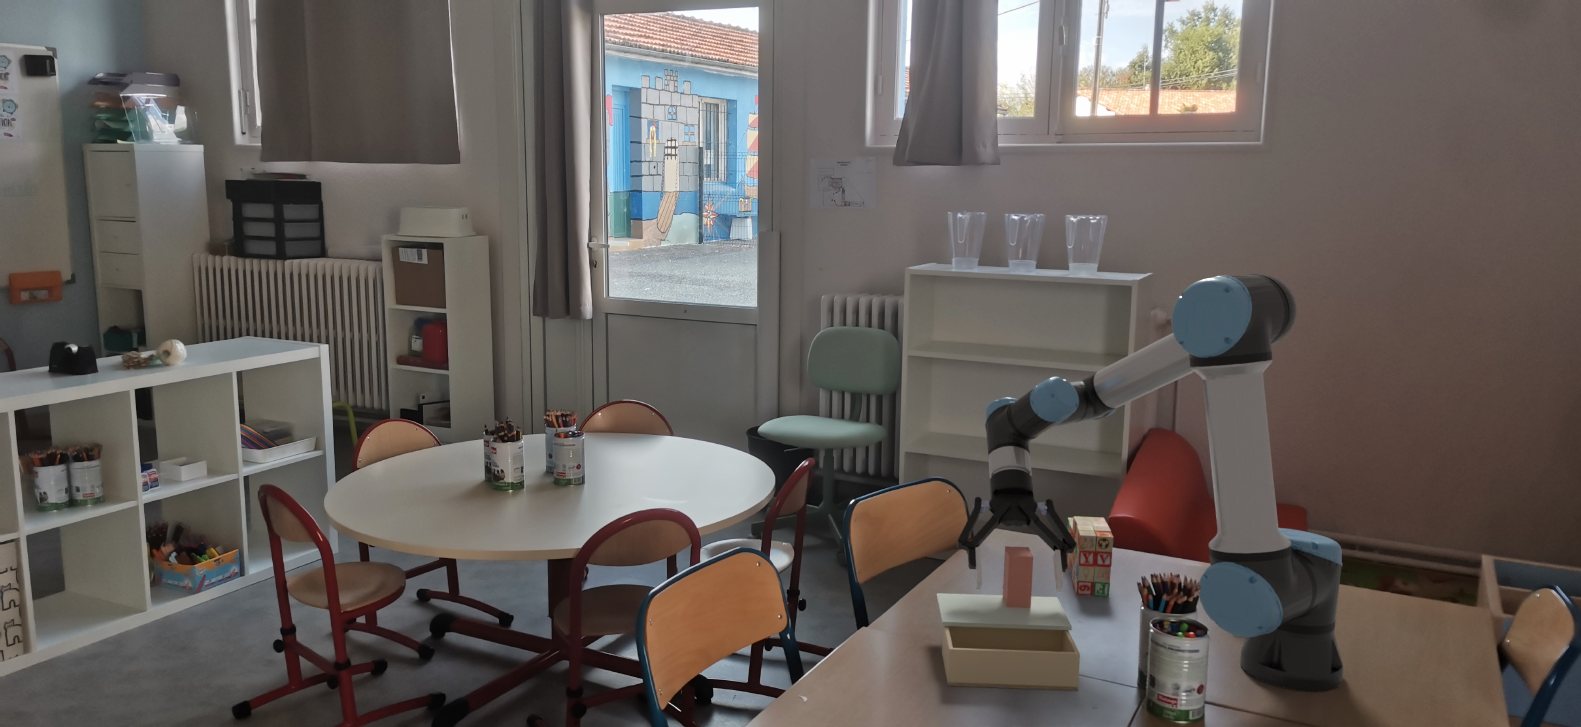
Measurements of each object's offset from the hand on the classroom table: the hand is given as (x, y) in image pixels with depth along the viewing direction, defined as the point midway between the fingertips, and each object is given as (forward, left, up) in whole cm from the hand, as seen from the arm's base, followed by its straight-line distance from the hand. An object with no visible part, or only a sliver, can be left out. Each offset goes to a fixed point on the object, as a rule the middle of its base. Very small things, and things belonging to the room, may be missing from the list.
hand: (1019, 587), depth 183 cm
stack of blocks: (-19, -35, -11) cm, 42 cm away
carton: (+3, +10, -10) cm, 15 cm away
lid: (+3, +1, -4) cm, 5 cm away
